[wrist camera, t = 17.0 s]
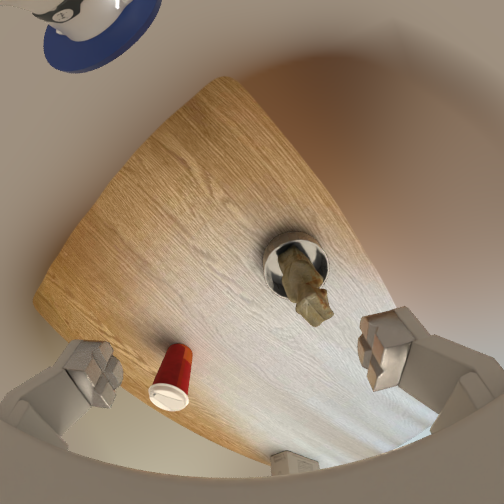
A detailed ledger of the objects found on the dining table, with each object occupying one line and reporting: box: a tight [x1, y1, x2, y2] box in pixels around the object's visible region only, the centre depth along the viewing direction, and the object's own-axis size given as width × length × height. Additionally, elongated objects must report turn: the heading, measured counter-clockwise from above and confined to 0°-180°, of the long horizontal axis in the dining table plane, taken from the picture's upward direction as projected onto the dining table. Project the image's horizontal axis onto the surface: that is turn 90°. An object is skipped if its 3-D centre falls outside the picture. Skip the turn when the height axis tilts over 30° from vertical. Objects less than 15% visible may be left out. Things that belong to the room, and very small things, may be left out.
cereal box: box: [270, 451, 320, 476], centre depth 66 cm, size 22×8×25 cm, turn 42°
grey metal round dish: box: [262, 231, 329, 300], centre depth 45 cm, size 11×11×4 cm
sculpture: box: [278, 245, 334, 327], centre depth 40 cm, size 6×7×15 cm
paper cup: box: [149, 344, 193, 411], centre depth 49 cm, size 8×8×14 cm
